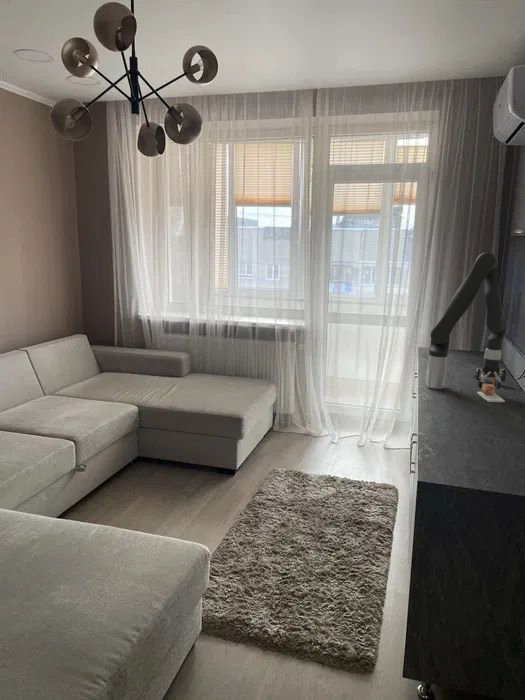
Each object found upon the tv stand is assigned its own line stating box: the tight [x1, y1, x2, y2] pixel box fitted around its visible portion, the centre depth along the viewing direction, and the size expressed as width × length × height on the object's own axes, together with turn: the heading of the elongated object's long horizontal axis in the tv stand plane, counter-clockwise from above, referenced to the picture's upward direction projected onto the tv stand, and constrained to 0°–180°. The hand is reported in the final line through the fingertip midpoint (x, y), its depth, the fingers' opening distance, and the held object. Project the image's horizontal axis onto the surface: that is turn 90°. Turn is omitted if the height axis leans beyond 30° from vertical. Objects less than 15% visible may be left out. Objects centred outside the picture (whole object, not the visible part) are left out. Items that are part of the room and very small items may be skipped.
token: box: [481, 383, 496, 395], centre depth 256 cm, size 4×4×4 cm
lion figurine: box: [481, 372, 501, 386], centre depth 278 cm, size 15×5×9 cm, turn 37°
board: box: [476, 391, 506, 403], centre depth 253 cm, size 8×14×1 cm, turn 178°
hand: (488, 388), depth 255 cm, fingers open, 8 cm apart
